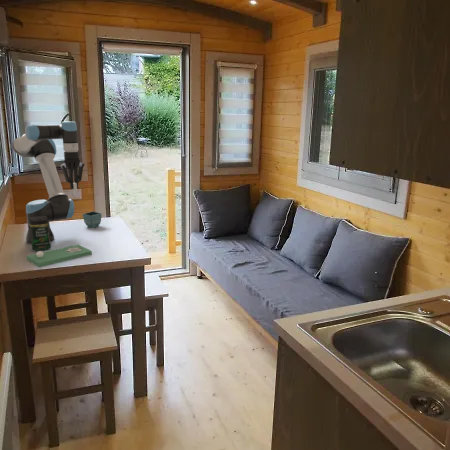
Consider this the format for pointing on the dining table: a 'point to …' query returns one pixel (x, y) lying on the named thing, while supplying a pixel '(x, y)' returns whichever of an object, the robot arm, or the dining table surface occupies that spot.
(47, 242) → the coffee jar
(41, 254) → the ball
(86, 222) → the flower pot
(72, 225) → the dining table surface
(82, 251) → the mat
